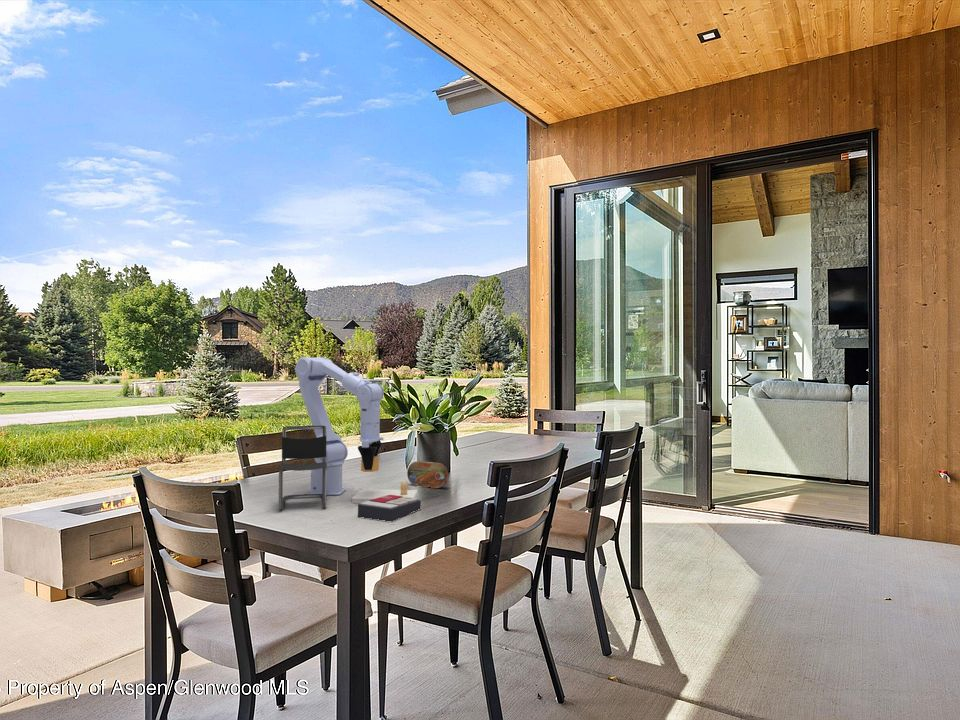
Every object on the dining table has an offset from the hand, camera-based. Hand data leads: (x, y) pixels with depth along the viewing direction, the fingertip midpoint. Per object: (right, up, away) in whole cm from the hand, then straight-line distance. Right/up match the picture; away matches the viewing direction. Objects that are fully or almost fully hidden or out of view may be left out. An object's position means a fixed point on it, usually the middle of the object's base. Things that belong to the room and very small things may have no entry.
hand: (370, 467), depth 183 cm
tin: (+16, -10, +18) cm, 26 cm away
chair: (-18, -10, -7) cm, 22 cm away
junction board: (+5, -10, 0) cm, 11 cm away
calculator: (+9, -10, -16) cm, 21 cm away
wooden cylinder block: (0, -1, 0) cm, 1 cm away
